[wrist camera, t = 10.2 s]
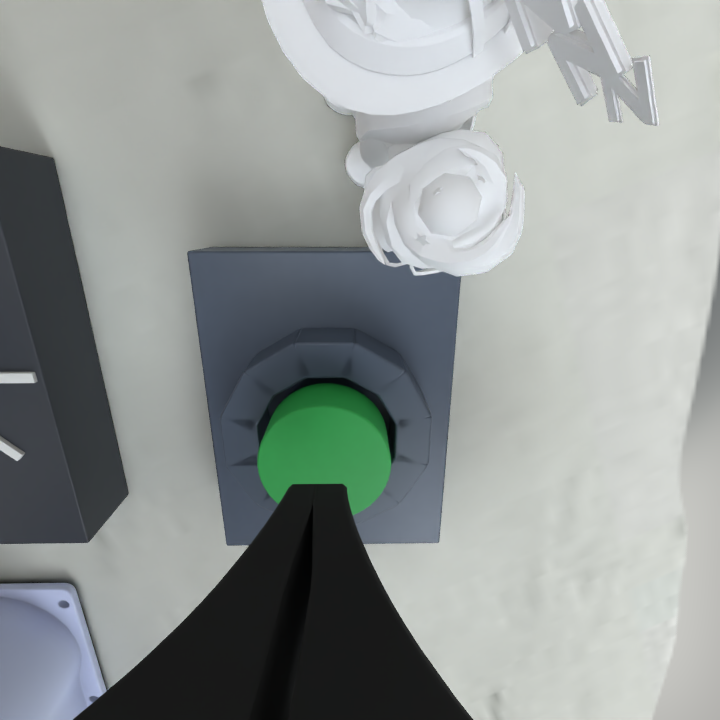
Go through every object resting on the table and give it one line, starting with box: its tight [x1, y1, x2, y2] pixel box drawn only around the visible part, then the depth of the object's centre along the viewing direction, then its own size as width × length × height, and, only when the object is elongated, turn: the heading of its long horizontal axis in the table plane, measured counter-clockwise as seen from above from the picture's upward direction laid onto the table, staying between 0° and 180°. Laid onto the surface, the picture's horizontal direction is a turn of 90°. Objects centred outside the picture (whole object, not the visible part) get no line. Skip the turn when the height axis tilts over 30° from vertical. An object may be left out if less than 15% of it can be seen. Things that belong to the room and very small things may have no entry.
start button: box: [257, 383, 391, 515], centre depth 13 cm, size 4×4×2 cm
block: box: [187, 247, 461, 546], centre depth 15 cm, size 12×9×4 cm
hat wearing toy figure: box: [262, 0, 659, 277], centre depth 8 cm, size 9×4×12 cm, turn 14°
